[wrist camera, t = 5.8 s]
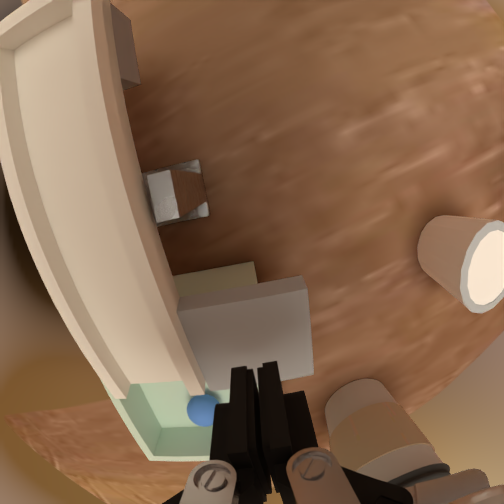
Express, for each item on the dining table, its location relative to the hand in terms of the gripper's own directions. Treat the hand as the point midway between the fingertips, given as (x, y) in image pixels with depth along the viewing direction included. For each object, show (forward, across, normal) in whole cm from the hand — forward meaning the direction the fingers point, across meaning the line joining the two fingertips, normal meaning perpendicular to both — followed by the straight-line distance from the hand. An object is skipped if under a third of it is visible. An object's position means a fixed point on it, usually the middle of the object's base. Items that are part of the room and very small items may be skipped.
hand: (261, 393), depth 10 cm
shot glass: (+13, -17, +1) cm, 21 cm away
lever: (+7, +3, -7) cm, 11 cm away
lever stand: (+13, +6, -7) cm, 16 cm away
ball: (+10, +6, +10) cm, 16 cm away
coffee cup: (+13, -8, +16) cm, 22 cm away
